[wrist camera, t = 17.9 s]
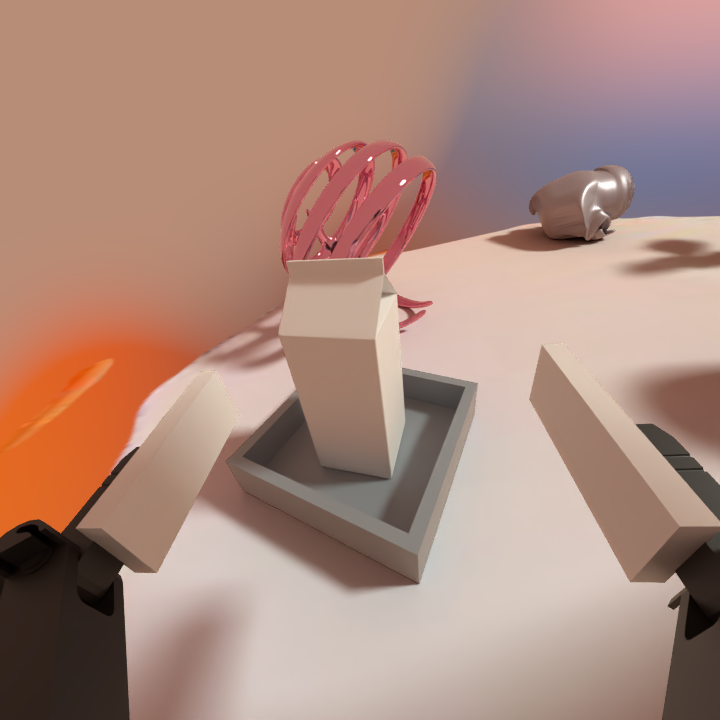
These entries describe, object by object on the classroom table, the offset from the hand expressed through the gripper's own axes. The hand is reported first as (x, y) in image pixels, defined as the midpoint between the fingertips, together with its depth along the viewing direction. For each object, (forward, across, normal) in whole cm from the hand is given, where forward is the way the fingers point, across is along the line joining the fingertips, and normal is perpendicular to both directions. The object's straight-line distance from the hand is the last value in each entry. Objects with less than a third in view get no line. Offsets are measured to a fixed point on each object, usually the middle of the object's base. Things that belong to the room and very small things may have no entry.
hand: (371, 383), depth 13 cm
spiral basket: (+42, -4, -18) cm, 46 cm away
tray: (+11, -3, -18) cm, 21 cm away
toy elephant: (+77, +46, -19) cm, 92 cm away
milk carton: (+11, -3, -17) cm, 20 cm away
